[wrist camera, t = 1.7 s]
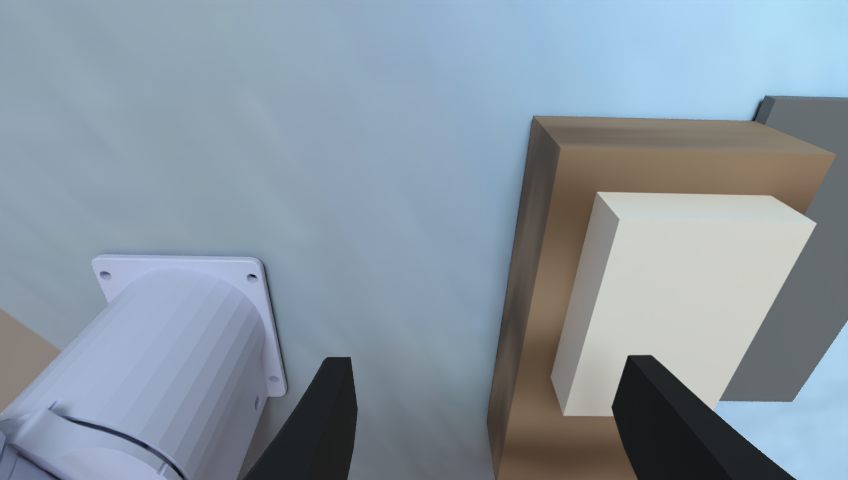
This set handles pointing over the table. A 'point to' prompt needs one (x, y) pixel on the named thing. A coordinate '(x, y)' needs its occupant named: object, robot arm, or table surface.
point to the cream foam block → (672, 290)
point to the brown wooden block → (562, 246)
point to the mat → (804, 264)
